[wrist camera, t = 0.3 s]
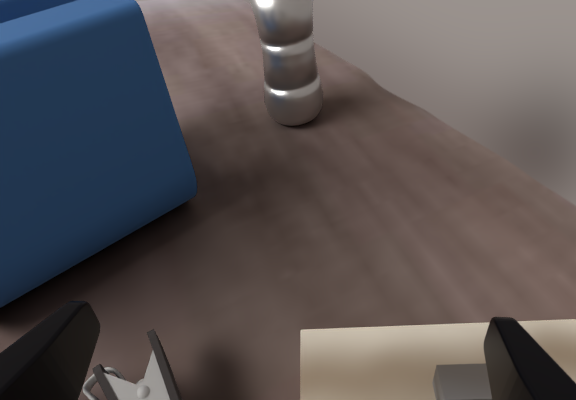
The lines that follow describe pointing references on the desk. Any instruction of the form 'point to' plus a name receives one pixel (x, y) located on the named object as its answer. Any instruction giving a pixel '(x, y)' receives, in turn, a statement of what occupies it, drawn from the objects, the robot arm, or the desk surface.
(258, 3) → the plastic bottle
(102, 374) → the clip-on lamp
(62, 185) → the block
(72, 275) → the desk surface
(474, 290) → the desk surface
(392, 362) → the beige square frame
